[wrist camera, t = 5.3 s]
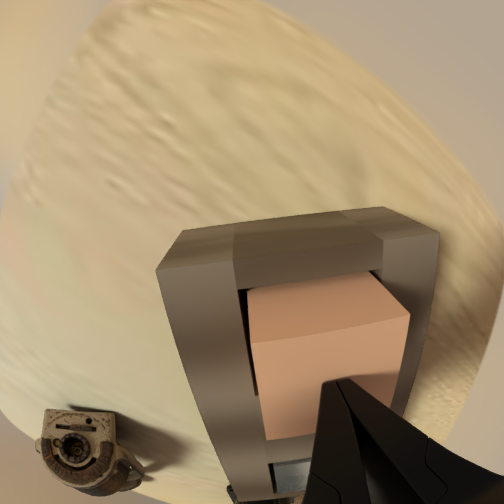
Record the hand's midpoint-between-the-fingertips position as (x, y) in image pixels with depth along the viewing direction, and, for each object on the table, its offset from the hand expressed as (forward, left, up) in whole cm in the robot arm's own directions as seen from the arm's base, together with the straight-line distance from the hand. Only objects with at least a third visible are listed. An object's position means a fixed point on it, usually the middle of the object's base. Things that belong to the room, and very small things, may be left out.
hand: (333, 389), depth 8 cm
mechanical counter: (-14, +18, -8) cm, 24 cm away
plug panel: (-5, 0, -8) cm, 9 cm away
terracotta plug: (0, 0, -5) cm, 5 cm away
